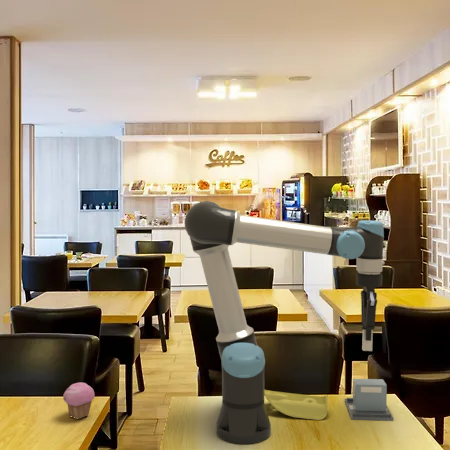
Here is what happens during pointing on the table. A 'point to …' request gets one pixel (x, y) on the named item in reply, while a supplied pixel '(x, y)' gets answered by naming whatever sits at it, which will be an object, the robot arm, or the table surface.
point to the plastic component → (298, 404)
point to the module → (369, 394)
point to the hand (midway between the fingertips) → (367, 350)
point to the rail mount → (367, 413)
